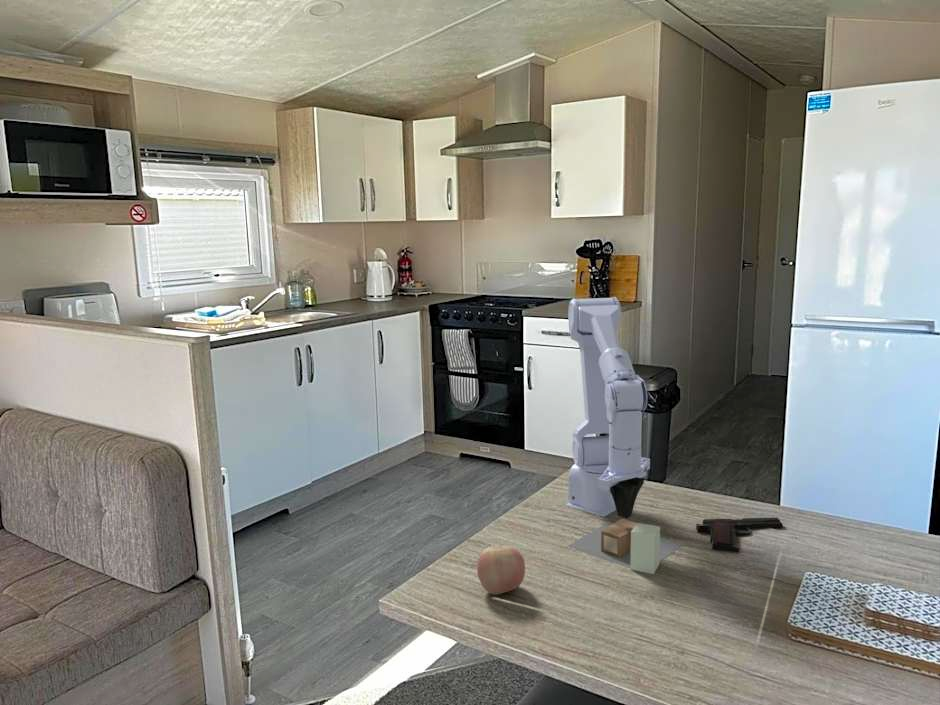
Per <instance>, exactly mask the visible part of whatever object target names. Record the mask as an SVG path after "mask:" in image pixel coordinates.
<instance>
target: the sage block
mask: <svg viewBox="0 0 940 705" xmlns="http://www.w3.org/2000/svg"><path fill="white" fill-rule="evenodd" d="M636 523H637V524H636V525H635V527H634V528H633V530H632V531H631V566H630V568H629V569H630V570H631V571H636V572H639V571H640V572H639V573H642V572H645V573H644V574H649V575H654V574H655V573H656V571H657V569H658V567H659V566H660V562H661V561H660V537H661V526H659V525H652V524H645V523H641V522H636Z"/></svg>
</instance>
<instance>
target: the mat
mask: <svg viewBox="0 0 940 705" xmlns="http://www.w3.org/2000/svg"><path fill="white" fill-rule="evenodd" d="M614 523H615V522H613V521H607V522H606V523H604V524H602V525H600V526H599V527H597V528H596V529H593V530H592V531H590V532H588V533H586V534H585V535H583V536H582V537H580V538H579V539H576V540H575V541H573V542H571V543H569V544H568V545H567V547H570V548H573V549H575V550H578V551H581V552H584V553H587V554H590V555H593V556H595V557H598V558H601V559H603V560H606V561H610V562H611V563H615V564H616V565H620V566H623V567H626V568H629V569H630V566H631V551H630V552H628V553H627V554H625V555H624V556H623V557H621V558H619V557H616V556H613V555H610V554H607V553H604V552H601V531H602V530H604V529H605V528H607V527H609V526H610V525H612V524H614ZM683 546H684V544H683V543H680V542H677V541H674V540H670V539H668V538H665V537H661V536H660V562H661V561H663V560H665V559H666V558H667V557H669V556H670V555H672V554H673V553H675V551H677V550H678V549H680V548H681V547H683ZM638 572H639V573H642V574H646V573H645V572H640V571H638Z"/></svg>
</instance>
